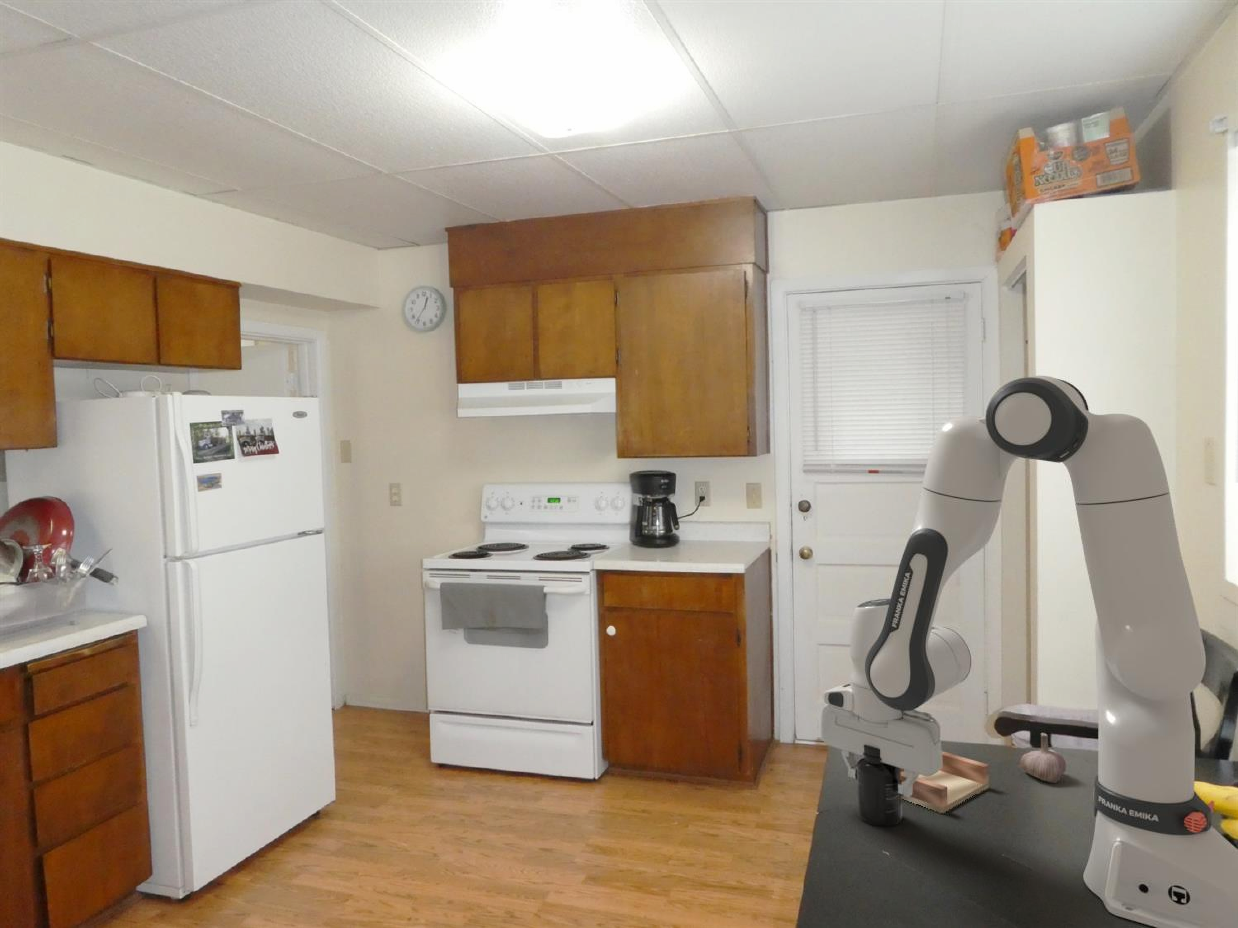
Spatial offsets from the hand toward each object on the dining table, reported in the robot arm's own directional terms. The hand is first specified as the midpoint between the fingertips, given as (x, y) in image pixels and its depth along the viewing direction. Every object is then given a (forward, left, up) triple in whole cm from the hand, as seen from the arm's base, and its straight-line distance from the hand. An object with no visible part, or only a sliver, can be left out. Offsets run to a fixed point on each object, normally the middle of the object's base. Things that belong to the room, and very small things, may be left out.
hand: (879, 786), depth 142 cm
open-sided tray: (+1, -16, -5) cm, 17 cm away
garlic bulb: (-10, -35, -6) cm, 37 cm away
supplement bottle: (0, 0, -5) cm, 5 cm away
